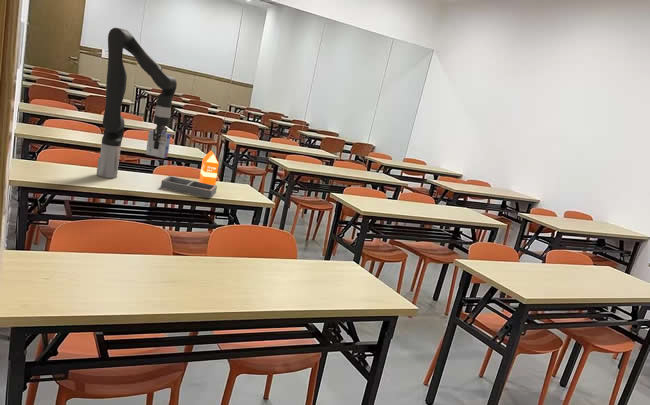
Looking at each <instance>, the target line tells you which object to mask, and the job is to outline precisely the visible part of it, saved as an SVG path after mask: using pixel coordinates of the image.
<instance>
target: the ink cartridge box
mask: <svg viewBox="0 0 650 405" xmlns="http://www.w3.org/2000/svg"><path fill="white" fill-rule="evenodd" d="M153 131H154V130H149V131H148V135H147V141H146V142H147V143H146V148H145V155H147V156H153V157H157V158H162V159H166V158H168V157H169V151H170V143H171V135H172V134H170V133H167V132H166V133H164V132H163V133H162V136H161V138H160V141H159V148H158V149H154V142H155V141H154V140H153ZM160 135H161V134H159V136H160ZM156 139H157V137H156Z"/></svg>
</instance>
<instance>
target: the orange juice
mask: <svg viewBox="0 0 650 405" xmlns="http://www.w3.org/2000/svg"><path fill="white" fill-rule="evenodd" d="M200 167H201V168H200V174H199V180H198V182H202V183H206V184H211V185H216V183H217V182H216V181H217V177H218V171H219V170H218V169H219V161H218V159H217V157H216V155H215V153H214V152H213V150H209V152H208V153H206V155H205V156H204V157H203V158H202V162H201V166H200Z"/></svg>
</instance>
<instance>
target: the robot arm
mask: <svg viewBox="0 0 650 405" xmlns="http://www.w3.org/2000/svg"><path fill="white" fill-rule="evenodd" d="M107 48H108V49H107V52H108V55H107V56H108V58H107V72H106V85H105V88H106V90H105V107H104V111H103V112H104V113H103V118H102V126H103V128H104V133H103V136H102V138H101V146H100V154H99V157H97V167H96V176H99V177H102V178H106V179H116V178H117V177H118V170H119V163H120V157H121V156H120V154H121V146H122V141H123V137H124V130H125V119H124V117H123V116H122V114H121V112H122V104H123V100H124V97H125V93H126V90H127V83H128V82H127V79H128V75H127V71H126V68H125V65H124V61H123V54H124V50H126V51H127V52H128V53H130V54H131V55H132V56H133V57H134V58H135V61H136V62H137V63H138V65H139V66H140V68H141V69H142V70H143V71H144V72H145V73H147V75H148V76H149V77H150V78H151V79H152V81H153V83H155V85H156V86H157V87H158V88H160V89H161V90H162V91H161V92H160V94H158V95H157V99H156V106H155V109H154V116H153V124H154V125H156V127H155V128H153V130H152V131H153V140H154V141H155V142H154V149H158V148H159V141H160V138H161V136H162V133H163V132H164V133H167V132H168V127H169V126H170V120H171V113H172V103H173V102H172V101H173V98H174V95H175V92H176V90H177V80H176V78H175V77H174V76H172V75H167V74H166V73H164V72H163V68H162V67H161V65H160V64H159V63H158V62H157V61H156V60H154V59H153V58H152V57H151V56H150V55H149V54H148V52H147V51H146V50H145V49H144V48H143V47H142V46H141V45H140V44H139V42H138V41H137V40H136V38H135V36H134V35H133V34H132V33H131V32H130V31H129V30H127V29H124V28H121V27H112V28H111V29H110V30H109V32H108V35H107ZM159 134H161V135H160V136H159ZM156 137H157V139H156Z"/></svg>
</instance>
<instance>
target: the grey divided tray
mask: <svg viewBox="0 0 650 405" xmlns="http://www.w3.org/2000/svg"><path fill="white" fill-rule="evenodd" d="M160 188H161V189H164V188H166V189H165V190H169V189H171V190H170V191H174V190H175V192H179V193H183V192H185V193H184V194H188V193H190V194H189V195H193V194H195V195H194V196H198V195H199V197H204V198H209V199H212V197H213V196H214V195H215V194H216V193H217V189H218V185H216V184H215V185H211V184H206V183H202V182H199V181H196V180H191V179H187V178H183V177H182V178H181V177H177V176H172V175H169V176H167V177H165V178H164V179H162V180H161V184H160Z"/></svg>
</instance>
